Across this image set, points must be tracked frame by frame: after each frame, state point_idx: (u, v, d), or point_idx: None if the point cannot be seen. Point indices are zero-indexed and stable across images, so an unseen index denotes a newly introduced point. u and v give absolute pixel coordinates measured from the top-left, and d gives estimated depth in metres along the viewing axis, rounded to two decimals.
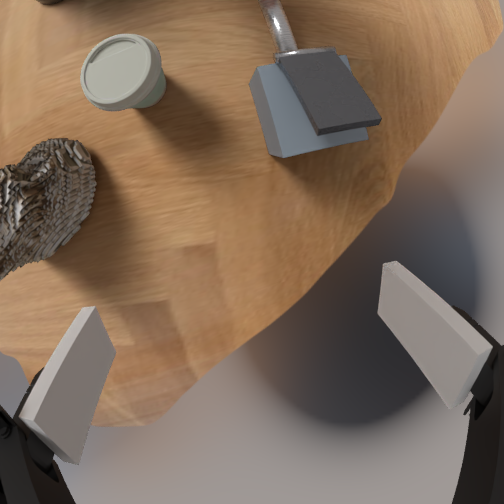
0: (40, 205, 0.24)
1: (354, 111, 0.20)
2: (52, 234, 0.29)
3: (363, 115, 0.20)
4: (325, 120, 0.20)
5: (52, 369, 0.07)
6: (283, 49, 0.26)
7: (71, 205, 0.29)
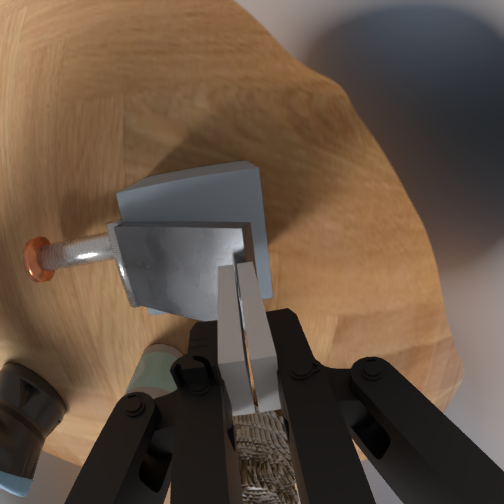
0: (255, 466, 0.30)
1: None
2: (280, 450, 0.35)
3: (235, 258, 0.14)
4: (242, 317, 0.15)
5: (230, 315, 0.10)
6: None
7: (262, 435, 0.34)
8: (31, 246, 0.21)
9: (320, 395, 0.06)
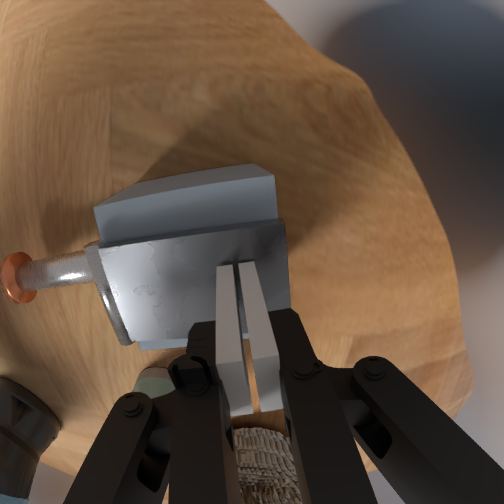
0: (261, 491, 0.26)
1: (263, 268, 0.14)
2: (287, 473, 0.31)
3: (275, 256, 0.14)
4: None
5: (228, 315, 0.10)
6: None
7: (268, 459, 0.30)
8: (8, 264, 0.17)
9: (322, 395, 0.06)
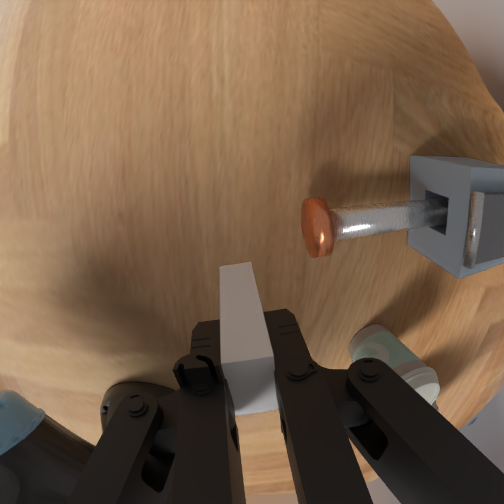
0: None
1: None
2: None
3: None
4: None
5: (232, 314, 0.10)
6: (423, 225, 0.22)
7: None
8: (327, 207, 0.20)
9: (317, 396, 0.06)
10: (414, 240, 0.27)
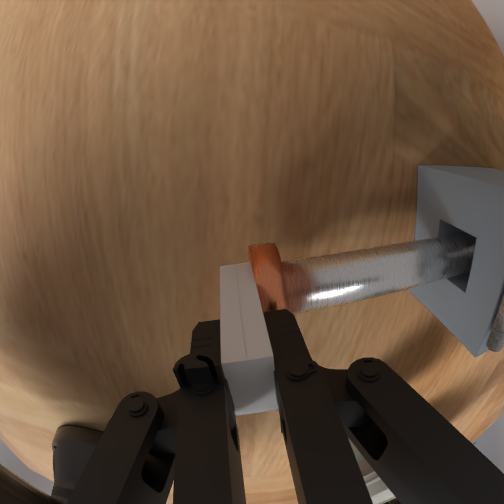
0: None
1: None
2: None
3: None
4: None
5: (233, 314, 0.10)
6: (442, 278, 0.14)
7: None
8: (280, 266, 0.12)
9: (317, 396, 0.06)
10: (418, 287, 0.19)
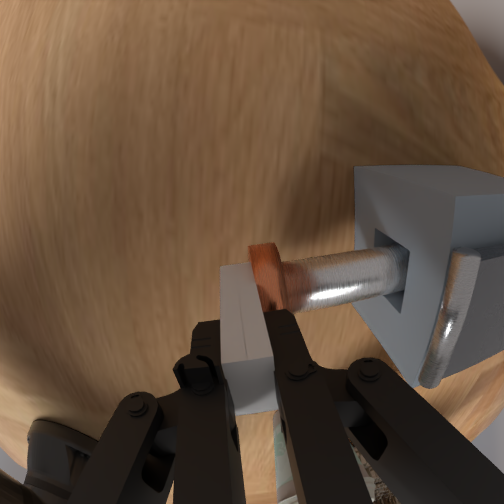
0: (387, 503, 0.21)
1: None
2: None
3: None
4: None
5: (233, 314, 0.10)
6: None
7: None
8: (280, 266, 0.12)
9: (317, 396, 0.06)
10: (359, 301, 0.18)
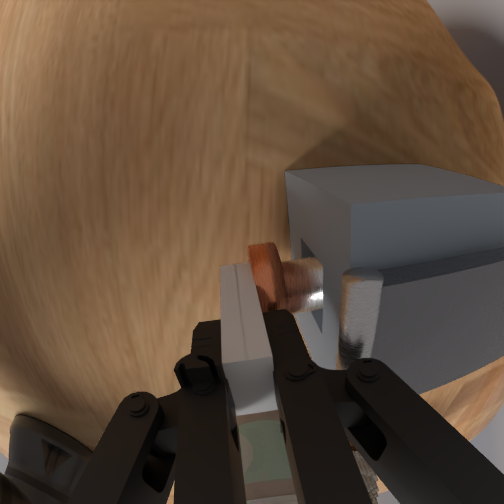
0: None
1: None
2: (373, 491, 0.25)
3: None
4: None
5: (233, 314, 0.10)
6: None
7: None
8: (279, 265, 0.12)
9: (316, 396, 0.06)
10: (298, 314, 0.18)
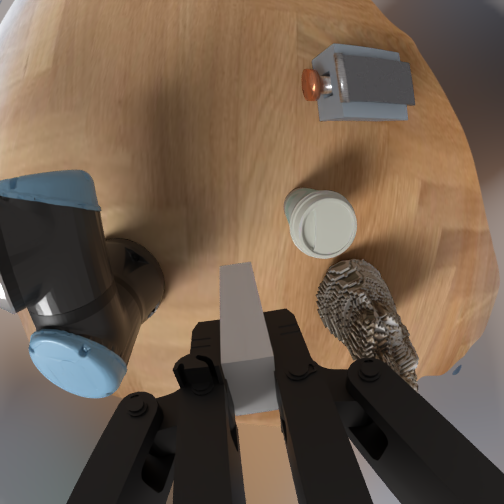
0: (383, 305, 0.39)
1: (404, 76, 0.26)
2: (391, 302, 0.43)
3: (407, 73, 0.26)
4: (410, 98, 0.28)
5: (232, 314, 0.10)
6: None
7: (380, 281, 0.43)
8: (315, 70, 0.30)
9: (317, 396, 0.06)
10: (322, 114, 0.37)
